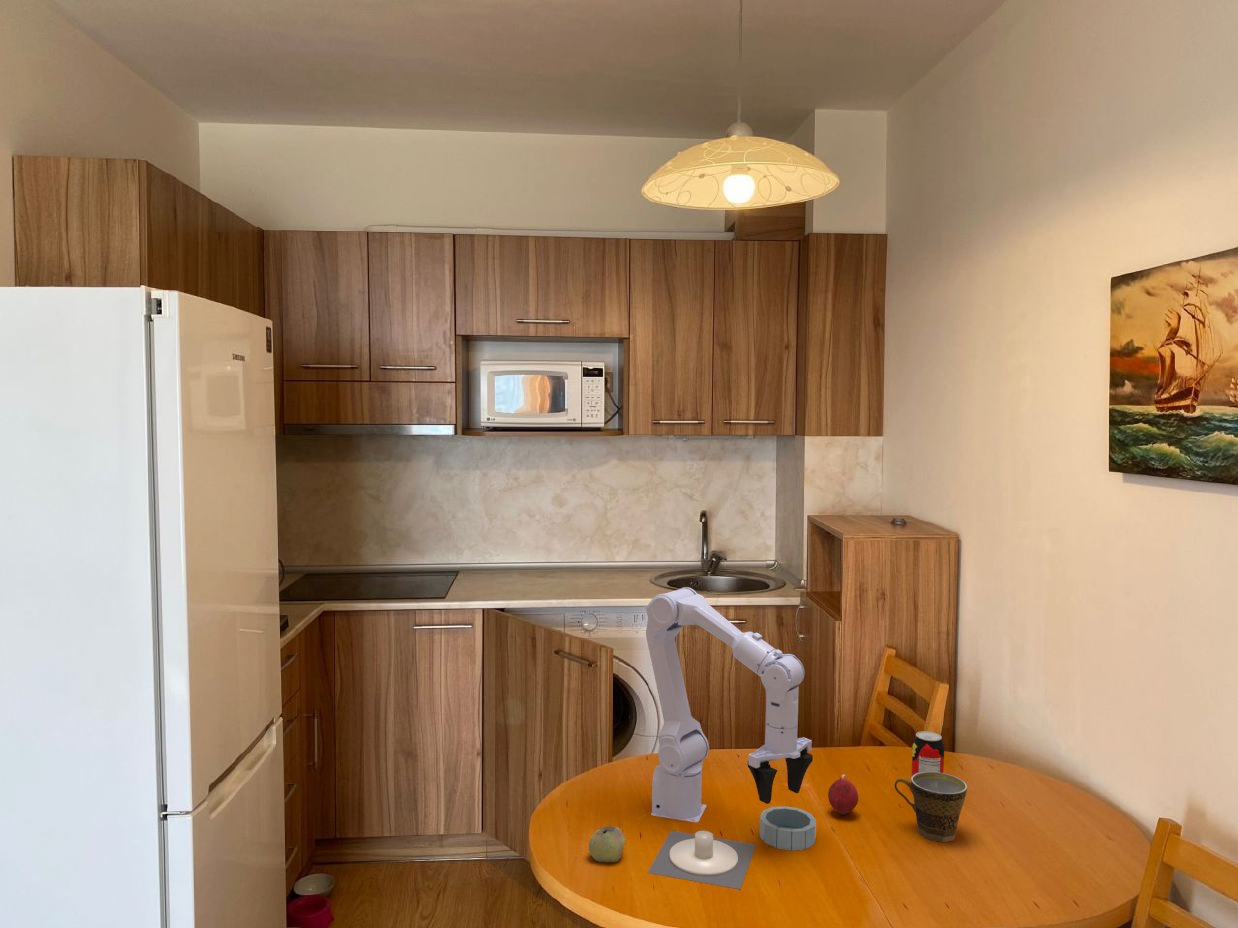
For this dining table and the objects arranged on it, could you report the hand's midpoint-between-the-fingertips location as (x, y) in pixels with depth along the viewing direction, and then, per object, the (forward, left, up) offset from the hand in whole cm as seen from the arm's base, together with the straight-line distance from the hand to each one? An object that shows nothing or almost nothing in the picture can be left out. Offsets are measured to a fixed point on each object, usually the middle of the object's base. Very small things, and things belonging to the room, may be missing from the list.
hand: (779, 796), depth 164 cm
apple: (-27, -15, -10) cm, 33 cm away
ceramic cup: (+26, +15, -10) cm, 32 cm away
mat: (-12, -10, -9) cm, 18 cm away
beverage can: (+26, +34, -10) cm, 44 cm away
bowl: (+1, +3, -9) cm, 10 cm away
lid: (-12, -10, -9) cm, 18 cm away
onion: (+10, +17, -10) cm, 22 cm away
